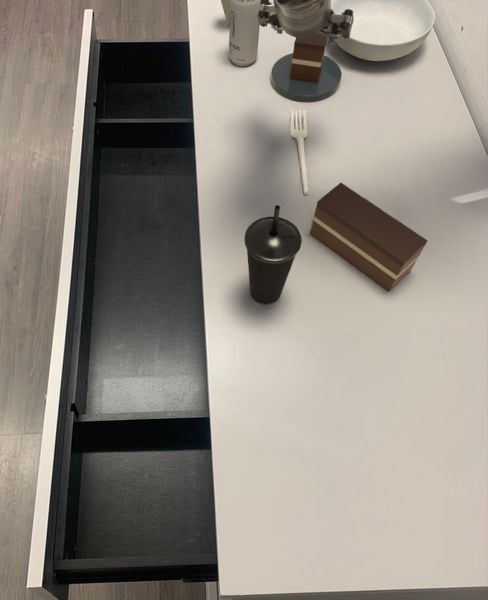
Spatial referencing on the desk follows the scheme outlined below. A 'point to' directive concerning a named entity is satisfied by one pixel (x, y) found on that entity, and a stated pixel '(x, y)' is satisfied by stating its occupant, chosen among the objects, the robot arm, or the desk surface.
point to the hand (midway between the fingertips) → (306, 30)
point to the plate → (305, 89)
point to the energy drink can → (243, 31)
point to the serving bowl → (385, 27)
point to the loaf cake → (366, 236)
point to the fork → (300, 144)
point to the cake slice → (308, 58)
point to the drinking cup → (270, 255)
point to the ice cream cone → (226, 10)
